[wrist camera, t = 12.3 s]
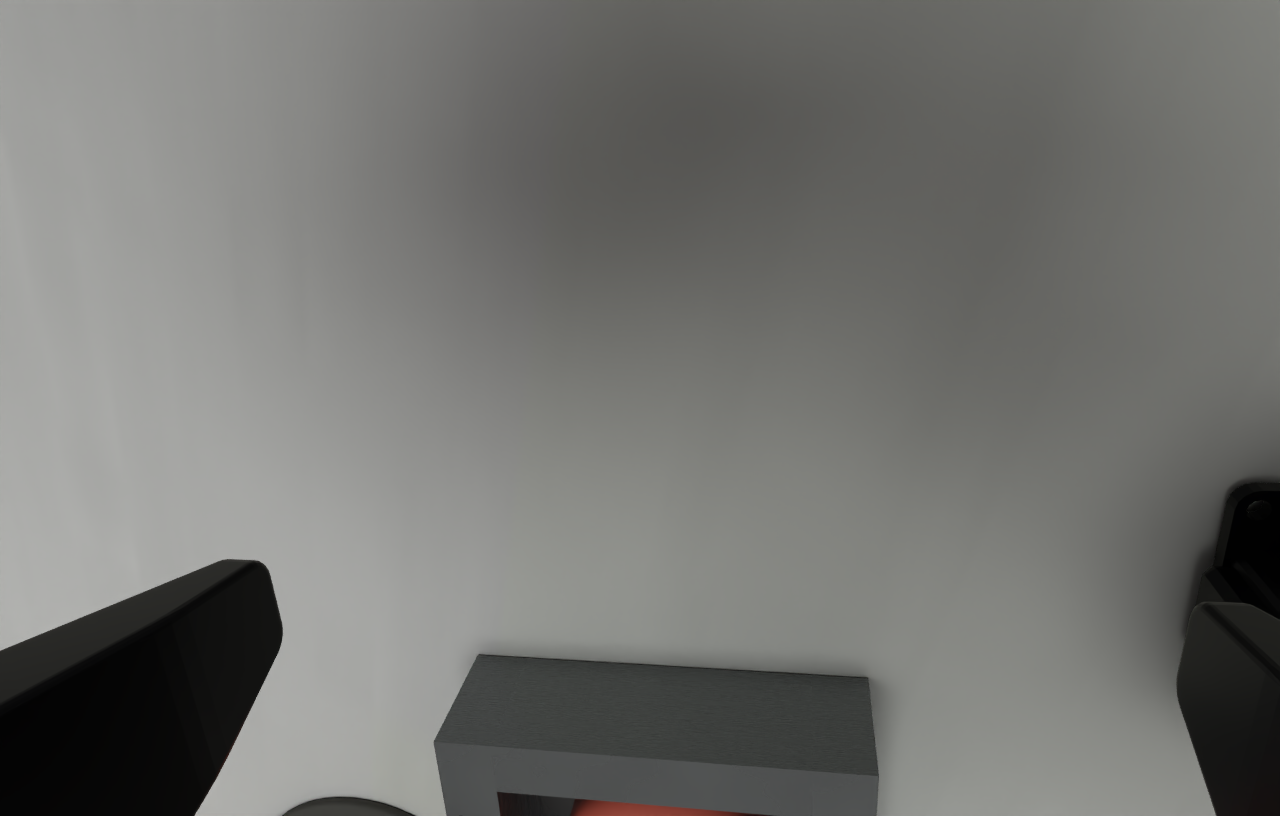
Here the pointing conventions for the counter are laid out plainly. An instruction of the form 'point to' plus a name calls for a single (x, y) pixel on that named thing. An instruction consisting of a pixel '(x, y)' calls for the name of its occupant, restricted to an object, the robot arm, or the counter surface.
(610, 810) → the button
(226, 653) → the robot arm
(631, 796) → the grey square tray
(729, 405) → the counter surface
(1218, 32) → the counter surface
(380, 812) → the coaster
